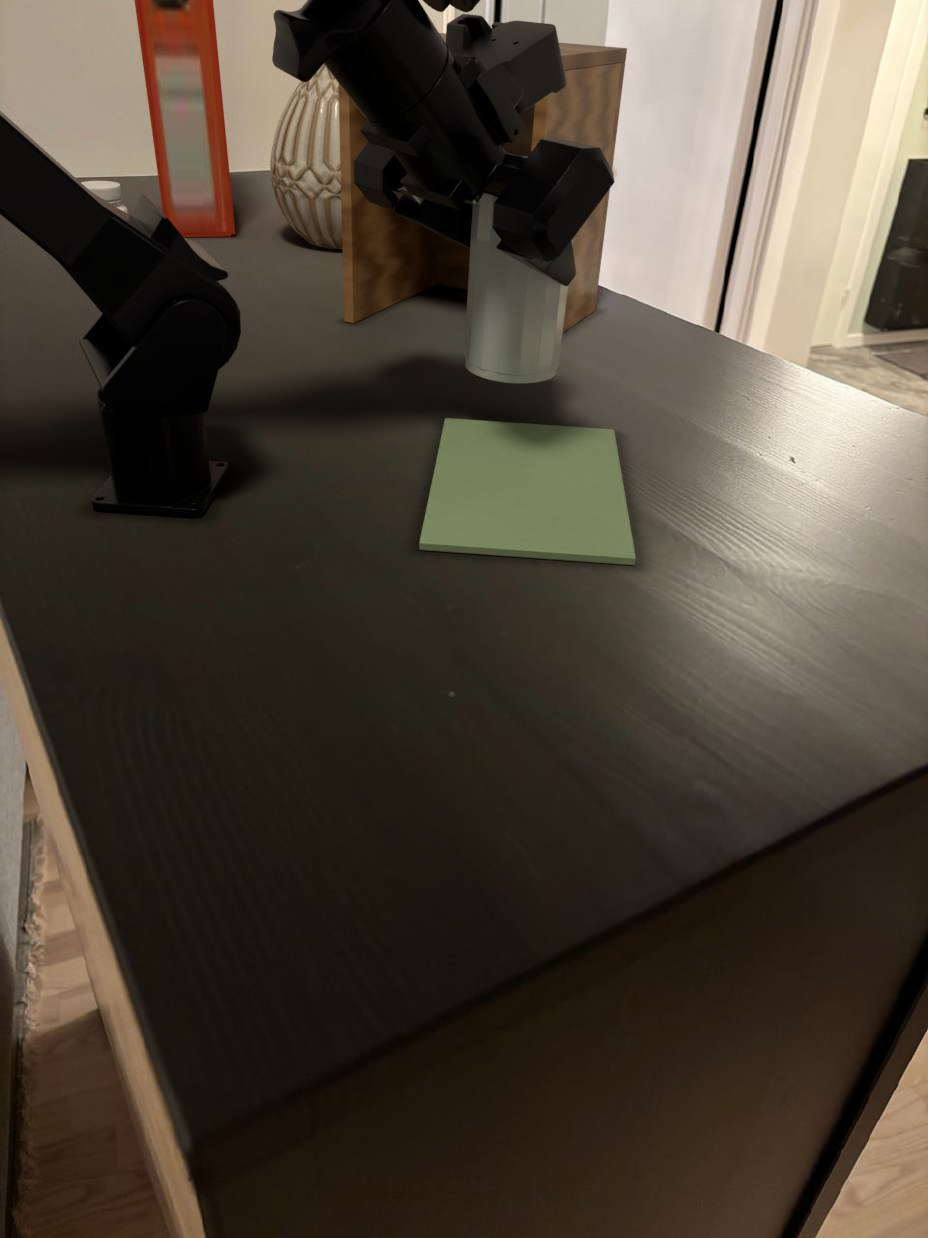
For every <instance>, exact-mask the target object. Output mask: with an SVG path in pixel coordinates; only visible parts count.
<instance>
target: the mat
mask: <svg viewBox="0 0 928 1238" xmlns="http://www.w3.org/2000/svg"><path fill="white" fill-rule="evenodd" d="M427 498H428V500H427V504H426V509H425V512H424V517H423V521H422V527H421V532H420V537H419V542H418V550H419V551H427V552H439V553H440V552H442V553H453V554H454V553H455V554H468V555H470V554H471V555H485V556H497V557H511V558H525V559H539V560H540V559H541V560H552V561H553V560H555V561H565V562H566V561H567V562H581V563H582V562H584V563H595V564H610V565H611V564H612V565H622V566H624V565H625V566H635V565H636V561H637V557H636V550H635V544H634V539H633V533H632V527H631V522H630V516H629V509H628V504H627V499H626V493H625V486H624V480H623V474H622V468H621V462H620V455H619V451H618V445H617V439H616V432H615V429H614V428H600V427H599V428H597V427H586V426H585V427H584V426H570V425H569V426H567V425H553V424H538V423H526V422H525V423H523V422H511V421H510V422H509V421H495V420H482V419H481V420H479V419H466V418H451V417H445V418H444V421H443V425H442V431H441V436H440V440H439V446H438V450H437V455H436V461H435V464H434V470H433V475H432V480H431V484H430V489H429V493H428V497H427Z"/></svg>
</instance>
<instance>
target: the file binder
mask: <svg viewBox="0 0 928 1238" xmlns="http://www.w3.org/2000/svg"><path fill="white" fill-rule="evenodd" d="M214 6H215V5H214V0H134V7H135V15H136V22H137V29H138V38H139V44H140V45H139V46H140V51H141V52H140V53H141V59H142V60H141V61H142V66H143V74H144V82H145V88H146V96H147V103H148V111H149V118H150V119H149V120H150V126H151V133H152V142H153V149H154V155H155V164H156V171H157V179H158V185H159V193H160V202H161V207H162V213H163V214H164V215H165V216H166V217H167V218H168V219H169V220H170V221H171V222H172V224H173V225H174V226H175V227H176V229H177V230H178V231H179V232H180V234H181V235H182V236H183V237H184V238H211V237H212V238H214V237H219V238H220V237H232V235H236V225H235V217H234V216H235V215H234V205H233V195H232V184H231V175H230V174H231V173H230V164H229V154H228V153H229V151H228V143H227V134H226V133H227V132H226V123H225V122H226V121H225V110H224V102H223V90H222V89H223V88H222V80H221V69H220V59H219V47H218V38H217V27H216V16H215V7H214Z"/></svg>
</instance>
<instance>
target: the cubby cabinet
mask: <svg viewBox="0 0 928 1238" xmlns="http://www.w3.org/2000/svg"><path fill="white" fill-rule="evenodd" d="M439 34H440V35H441V37H442V38H443V40H444V42H445V43H446V32H445V33H444V32H439ZM559 46H560V51H561V56H562V62H563V67H564V72H565V77H566V82H567V84H566V86H565V87H564V88H563V89H562V90H561V91H559V92H558V93H553V92H552V93H550V94H549V95H547V96H546V97H545V98H543V99H542V100H540V101H539V102H537V103H536V104H534V105H533V106H532V107H530V108H529V109H527V110H526V111H524V112H522V113H520V114H518V115H519V117H520V118H521V120H522V122H523V123H524V125H525V128H524V129H523V130H522V132H521V133H520V135H519V136H518V137H517V139H516V140H515V141H514V143H509V142H508V143H507V144H506V145H505V147H504V148H503V149H504V150H505V152H506V153H509V154H513V155H517V156H529V155H530V153H531V152H532V151H533V149H534V148H535V147H536V145H537V144H538V142H539V141H540V140H541V139H557V138H558V139H563V140H567V141H572V142H577V143H581V144H586V145H591V146H595V147H600V149H601V150H602V152H603V154H604V156H605V158H606V160H607V162H608V163H609V165H610V167H611V169H612V170H613V167H614V158H615V150H616V142H617V134H618V126H619V118H620V110H621V102H622V93H623V87H624V86H623V84H624V78H625V77H624V76H625V71H626V60H627V53H628V48H627V47H618V46H617V47H616V46H605V45H594V44H593V45H592V44H591V45H590V44H581V43H567V42H559ZM338 88H339V128H340V168H341V207H342V247H343V250H342V280H343V281H342V282H343V312H344V313H343V321H344V323H345V322H346V323H350V324H355V323H357V322H359V321H361V320H363V319H365V318H368V317H370V316H372V315H374V314H376V313H378V312H381V311H382V310H386V309H387V308H389V307H391V306H393V305H395V304H398V303H399V302H402V301H404V300H406V299H408V298H410V297H413V296H414V295H417V294H419V293H420V292H423V291H425V290H428V289H430V288H432V287H434V286H435V285H439V286H444V287H445V286H446V287H450V288H456V289H460V290H461V289H462V290H465V291H468V280H469V262H470V249H469V248H467V247H465V246H463V245H460V244H458V243H456V242H454V241H452V240H450V239H448V238H446V237H444V236H441V235H439V234H437V233H435V232H433V231H431V230H429V229H427V228H425V227H423V226H420V225H418V224H416V223H414V222H412V221H410V220H408V219H406V218H403V217H400V216H398V215H397V214H396V213H395V212H394V208H393V210H390V209H388V208H385V207H382V206H379V205H376V204H373V203H370V202H369V200H368V199H367V198H366V197H365V196H364V194H363V193H362V192H361V191H360V190H359V188H358V187H357V186H356V185H355V184H354V161H355V159H356V158H357V156H358V155H359V154H360V152H361V151H362V150H363V148H364V147H365V145H366V144H367V143H368V140H367V139H366V138H365V136H364V135H363V134H362V132H361V131H360V129H361V128H362V127H363V125H364V124H365V122H366V121H367V119H366V118H365V117H364V116H363V114H362V113H361V112H360V110H359V109H358V108H357V106H356V105H355V104H354V102H353V101H352V100H351V99H350V97H349V96H348V95H347V93H346V92H345V91H344V89H343V88H342V87H341V86H340V84H339V83H338ZM610 191H611V188H610V189H609V190H608V192H607V193H606V194H605V196H604V197H603V199H602V200H601V201H600V203H599V204H598V205H597V207H596V208H595V209H594V211H593V212H592V214H591V215H590V216H589V218H588V219H587V220H586V222H585V223H584V224H583V226H582V227H581V228H580V230H579V231H578V233H577V234H576V235H575V237H574V238H573V253H574V260H575V266H576V275H575V277H574V278H573V280H572V281H571V283H570V284H569V285H568V290H567V299H566V308H565V317H564V325H563V333H565V332H566V331H568V330H569V329H571V328H572V327H574V326H575V325H576V324H578V323H580V322H581V321H582V320H584V319H585V318H586V317H588V316H589V315H590V314H592V313H593V312H595V311H596V306H597V299H598V292H599V291H598V290H599V283H600V274H601V265H602V257H603V248H604V240H605V233H606V224H607V216H608V210H609V209H608V208H609V202H610V201H609V200H610ZM398 200H399V198H398V197H397V202H398Z"/></svg>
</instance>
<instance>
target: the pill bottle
mask: <svg viewBox="0 0 928 1238" xmlns="http://www.w3.org/2000/svg"><path fill="white" fill-rule="evenodd" d="M80 182H81V183H82V184H83V185H84V186H85V187H86V188H88V189H89V190H90V191H91V192H92V193H94V194H95V195H97V196H98V197H100V198H102V199H103V200H105V201H107V202H108V203H110V204H112V205H113V206H115V207H117V208H119V209H120V210H122V211H124V212H125V213H127V214H129V211H128V208H127V207H126V206H125V205H124V204H122V203H121V202H122V201H123V192H122V186H121V184H120V183H119V182H116V181H110V180H87V181H80Z"/></svg>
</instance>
